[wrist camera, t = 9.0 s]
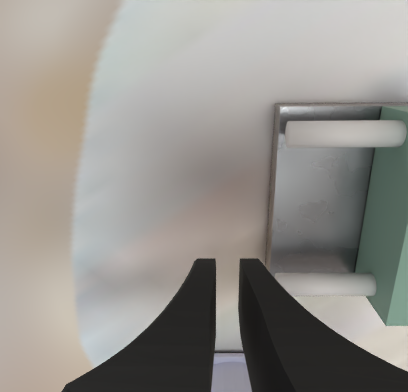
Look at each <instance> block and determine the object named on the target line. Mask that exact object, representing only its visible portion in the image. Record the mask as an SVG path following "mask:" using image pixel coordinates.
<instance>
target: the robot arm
mask: <svg viewBox="0 0 408 392" xmlns="http://www.w3.org/2000/svg"><path fill="white" fill-rule="evenodd" d="M238 311H239V323H240V334H241V340H242V345H243V350H244V353H214V350H215V338H216V262H215V259H196V260H195V261H194V263H193V266H192V268H191V270H190V272H189V274H188V276H187V278H186V279H185V281H184V283H183V284H182V286H181V287H180V289H179V290H178V292H177V293H176V295H175V296H174V297H173V299H172V300H171V301H170V303H169V304H168V305H167V307H166V308H165V309H164V310H163V311H162V313H161V314H160V315H159V316H158V317H157V318H156V319H155V320H154V321H153V323H152V324H151V325H150V326H149V327H148V328H147V329H145V330H144V331H143V332H142V333H141V334H140V335H139V336H138V337H137V338H136V339H135V340H133V341H132V342H131V343H130V344H129V345H128V346H126V347H125V348H124V349H122V350H121V351H120V352H118V353H117V354H115V355H114V356H113V357H111V358H110V359H108V360H107V361H105V362H104V363H102V364H101V365H99V366H98V367H96V368H94V369H92V370H91V371H89V372H87V373H86V374H84V375H82V376H80V377H79V378H77V379H75V380H74V381H72V382H70V383H68V384H66V385H65V387H64V389H63V390H62V392H408V372H407V371H405V370H403V369H400V368H398V367H396V366H394V365H392V364H390V363H388V362H386V361H384V360H382V359H380V358H378V357H377V356H375V355H373V354H371V353H369V352H367V351H366V350H364V349H362V348H360V347H359V346H357V345H355V344H354V343H352V342H350V341H349V340H347V339H346V338H344V337H343V336H341V335H339V334H338V333H336V332H335V331H333V330H332V329H331V328H329V327H328V326H326V325H325V324H324V323H322V322H321V321H320V320H318V319H317V318H316V317H315V316H313V315H312V314H311V313H310V312H308V311H307V310H306V309H305V308H304V307H303V306H302V305H300V304H299V303H298V302H297V301H296V300H295V299H294V298H293V297H292V296H291V295H290V294H289V293H288V292H287V291H286V290H285V289H284V288H283V287H282V286H281V285H280V284H279V282H278V281H277V280H276V279H275V278H274V277H273V276H272V274H271V273H270V272H269V271H268V270H267V268H266V267H265V266H264V265H263V263H262V262H261V261H260V260H259V259H240V271H239V304H238Z"/></svg>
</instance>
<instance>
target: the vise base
mask: <svg viewBox="0 0 408 392" xmlns="http://www.w3.org/2000/svg"><path fill="white" fill-rule="evenodd" d="M382 106H408V103H314V104H275V115H274V131H273V148H272V164H271V181H270V198H269V214H268V231H267V247H266V264H265V265H266V268H267V270H268V271H269V272H270V273H271V274H272V276H273V277H274V278H275V274H276V273H355V269H356V263H357V257H358V251H359V245H360V239H361V232H362V226H363V220H364V214H365V208H366V202H367V196H368V190H369V184H370V177H371V171H372V165H373V159H374V153H375V147H343V148H287V147H286V143H285V130H286V124H287V122H288V121H355V120H380V116H381V110H382Z"/></svg>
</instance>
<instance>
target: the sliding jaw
mask: <svg viewBox="0 0 408 392" xmlns="http://www.w3.org/2000/svg"><path fill="white" fill-rule="evenodd" d="M285 143H286V147H287V148H343V147H375V153H374V159H373V165H372V171H371V177H370V184H369V190H368V196H367V202H366V208H365V214H364V220H363V226H362V232H361V239H360V245H359V251H358V257H357V263H356V269H355V273H276V274H275V279H276V280H277V281H278V282H279V284H280V285H281V286H282V287H283V288H284V289H285V290H286V291H287V292H288V293H289V294H290V295H291V296H366V297H367V299H368V300H369V302H370V303H371V305H372V306H373V308H374V309H375V311H376V312H377V313H378V315H379V316H380V318H381V319H382V321H383V322H384V324H385V325H386V326H408V106H382V110H381V116H380V120H355V121H288V122H287V124H286V130H285Z"/></svg>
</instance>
